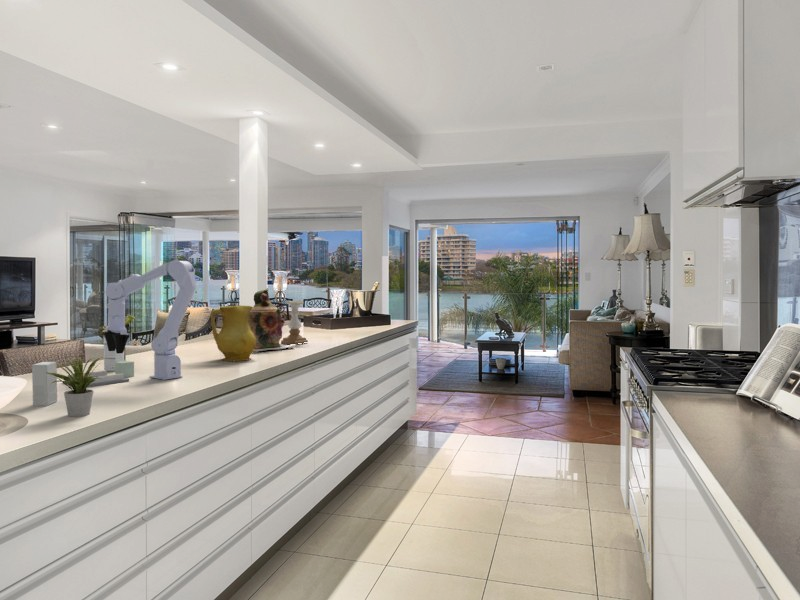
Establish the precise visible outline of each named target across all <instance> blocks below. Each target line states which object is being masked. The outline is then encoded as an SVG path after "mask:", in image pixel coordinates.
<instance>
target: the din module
mask: <svg viewBox="0 0 800 600" xmlns="http://www.w3.org/2000/svg"><path fill="white" fill-rule="evenodd" d="M114 372H115V373H114V375H115V374H123V378H125V379H126V378H130V377H131V378H132V377H135V361H131V360H126V361H122V362H115V371H114Z"/></svg>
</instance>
